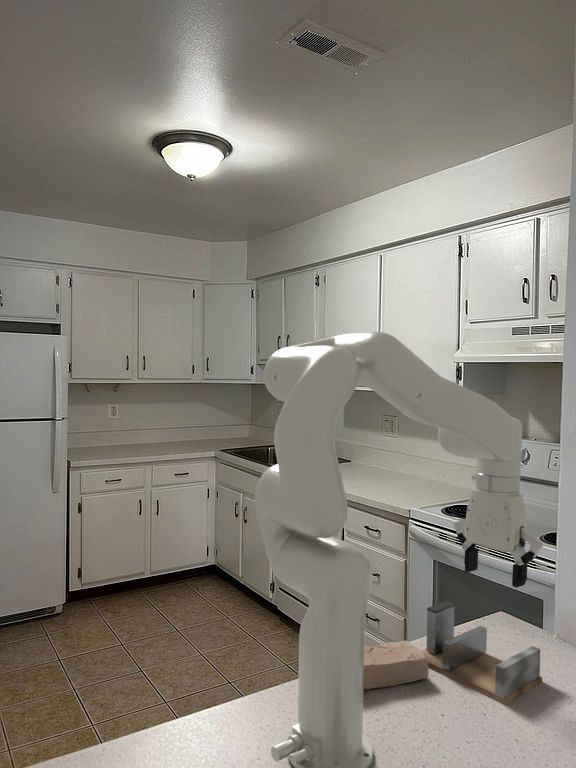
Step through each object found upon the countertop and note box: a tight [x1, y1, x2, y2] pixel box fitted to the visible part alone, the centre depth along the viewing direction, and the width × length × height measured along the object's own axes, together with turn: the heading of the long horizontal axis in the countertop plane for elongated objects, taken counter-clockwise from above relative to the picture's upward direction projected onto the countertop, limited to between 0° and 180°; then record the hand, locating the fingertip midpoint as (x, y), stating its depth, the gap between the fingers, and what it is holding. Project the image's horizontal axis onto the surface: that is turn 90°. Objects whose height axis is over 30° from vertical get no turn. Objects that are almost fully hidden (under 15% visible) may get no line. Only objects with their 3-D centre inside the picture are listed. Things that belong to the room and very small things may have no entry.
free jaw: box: [426, 600, 488, 670], centre depth 116 cm, size 12×8×8 cm, turn 129°
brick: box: [363, 640, 430, 691], centre depth 109 cm, size 16×8×5 cm, turn 107°
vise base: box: [421, 645, 543, 706], centre depth 112 cm, size 12×20×6 cm, turn 39°
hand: (494, 578), depth 109 cm, fingers open, 9 cm apart
